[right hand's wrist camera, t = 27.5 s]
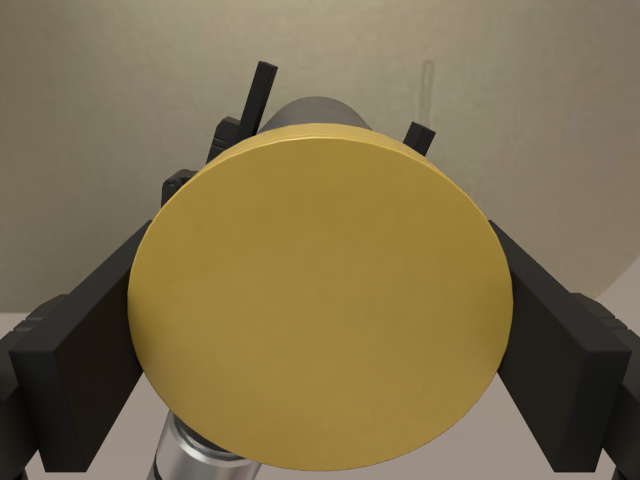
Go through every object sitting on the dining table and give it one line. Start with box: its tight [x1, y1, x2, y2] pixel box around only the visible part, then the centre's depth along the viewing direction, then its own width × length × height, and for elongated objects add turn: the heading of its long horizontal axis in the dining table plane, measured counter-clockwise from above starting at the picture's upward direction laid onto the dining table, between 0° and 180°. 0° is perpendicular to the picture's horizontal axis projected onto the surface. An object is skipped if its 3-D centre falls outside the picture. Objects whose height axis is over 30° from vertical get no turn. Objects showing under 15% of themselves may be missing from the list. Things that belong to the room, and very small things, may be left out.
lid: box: [127, 123, 513, 471], centre depth 11 cm, size 9×9×2 cm
